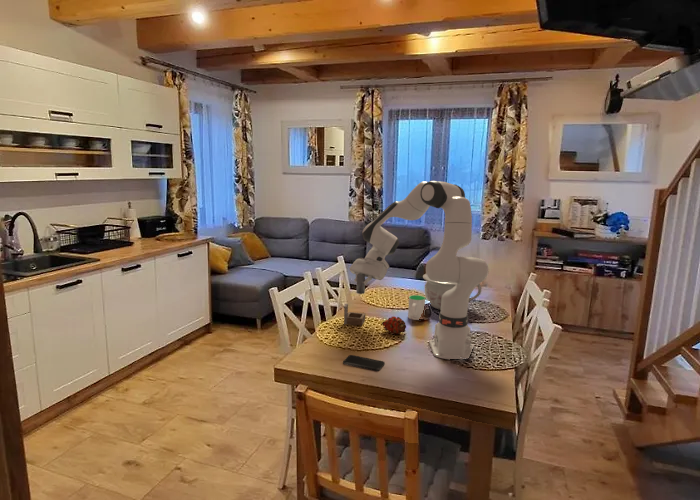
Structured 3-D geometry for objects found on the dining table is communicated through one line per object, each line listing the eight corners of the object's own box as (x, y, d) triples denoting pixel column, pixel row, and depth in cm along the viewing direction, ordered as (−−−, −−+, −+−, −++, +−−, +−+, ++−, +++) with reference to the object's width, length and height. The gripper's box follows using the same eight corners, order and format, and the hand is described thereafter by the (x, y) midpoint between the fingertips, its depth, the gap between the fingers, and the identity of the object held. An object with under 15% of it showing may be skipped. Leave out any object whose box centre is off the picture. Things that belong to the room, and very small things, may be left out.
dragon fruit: (407, 339, 204) (382, 338, 210) (411, 324, 210) (387, 323, 215) (401, 328, 199) (376, 327, 205) (406, 313, 204) (381, 312, 210)
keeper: (361, 327, 214) (361, 307, 212) (343, 325, 216) (343, 305, 214) (365, 320, 224) (365, 300, 222) (348, 318, 226) (348, 299, 224)
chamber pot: (411, 302, 253) (413, 266, 249) (451, 297, 265) (453, 263, 261) (441, 318, 229) (443, 279, 225) (483, 312, 240) (487, 274, 236)
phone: (378, 369, 169) (342, 362, 175) (378, 372, 169) (341, 364, 175) (385, 361, 176) (350, 354, 182) (385, 364, 176) (350, 357, 182)
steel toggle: (363, 294, 219) (364, 276, 218) (355, 293, 220) (356, 275, 219) (365, 292, 223) (365, 274, 222) (357, 291, 224) (357, 273, 222)
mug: (421, 323, 221) (422, 303, 219) (405, 321, 224) (406, 301, 222) (425, 315, 232) (426, 296, 230) (409, 313, 235) (410, 294, 233)
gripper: (355, 253, 231) (341, 275, 225) (386, 259, 217) (372, 282, 212) (361, 260, 235) (347, 282, 229) (392, 267, 221) (378, 290, 216)
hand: (359, 282), depth 220 cm, fingers closed on steel toggle, 4 cm apart
